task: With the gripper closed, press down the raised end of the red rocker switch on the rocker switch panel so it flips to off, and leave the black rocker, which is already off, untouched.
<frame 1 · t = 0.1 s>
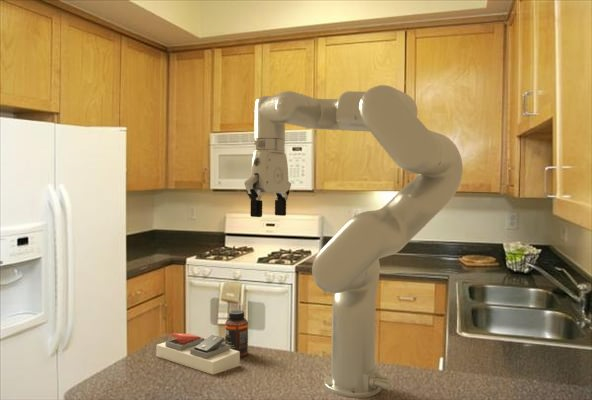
hand: (268, 216, 115), 37 cm above the countertop, tool pointing down, fingers open, 9 cm apart
rocker switch panel: (197, 364, 114), on the countertop
black rocker: (210, 346, 111), point 5 cm above the countertop, hinge at -15.0°
red rocker: (185, 339, 117), point 5 cm above the countertop, hinge at 15.0°
supplement bottle: (236, 355, 121), on the countertop
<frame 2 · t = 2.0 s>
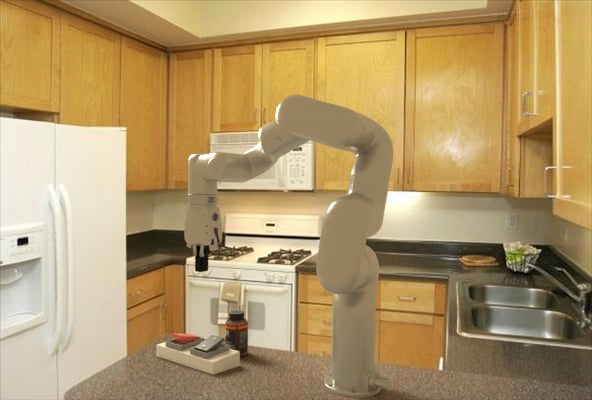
hand: (201, 271, 121), 22 cm above the countertop, tool pointing down, fingers closed
nothing on the countertop moved.
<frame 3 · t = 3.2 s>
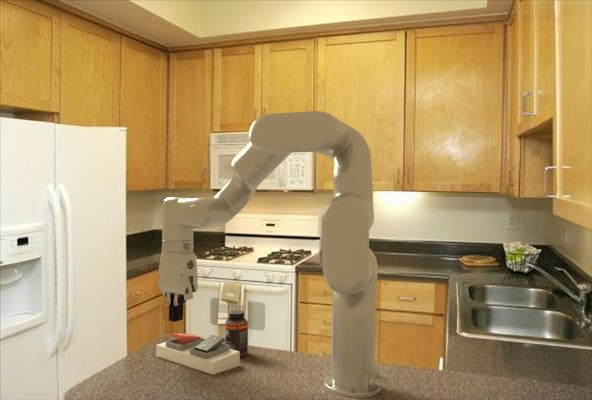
hand: (175, 320, 115), 11 cm above the countertop, tool pointing down, fingers closed
nothing on the countertop moved.
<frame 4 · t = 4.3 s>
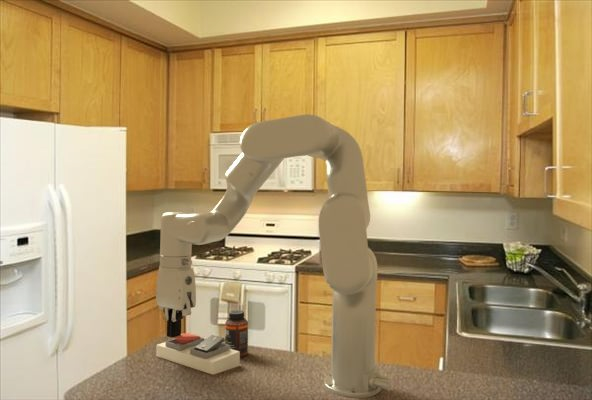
hand: (173, 335, 114), 7 cm above the countertop, tool pointing down, fingers closed
red rocker: (185, 339, 117), point 5 cm above the countertop, hinge at 13.3°, touching gripper
everything else where it was.
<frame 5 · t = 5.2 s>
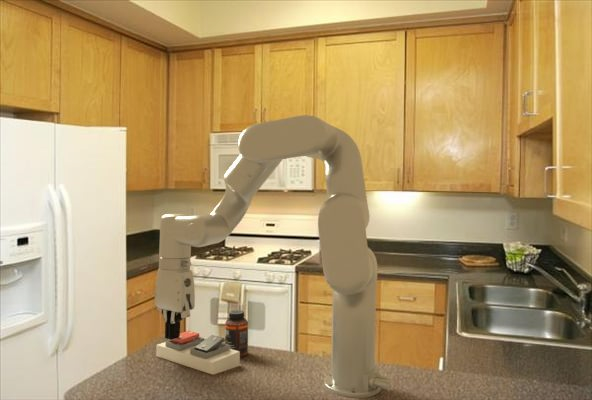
hand: (172, 337, 114), 7 cm above the countertop, tool pointing down, fingers closed
red rocker: (185, 339, 117), point 5 cm above the countertop, hinge at -1.0°, touching gripper
everything else where it was.
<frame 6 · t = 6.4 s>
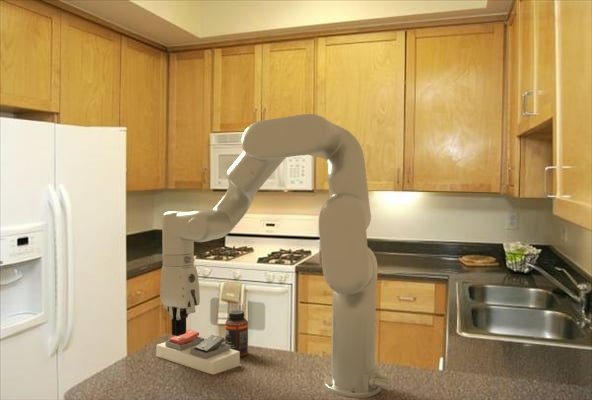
hand: (179, 334, 114), 7 cm above the countertop, tool pointing down, fingers closed
red rocker: (185, 339, 117), point 5 cm above the countertop, hinge at -8.4°
everything else where it was.
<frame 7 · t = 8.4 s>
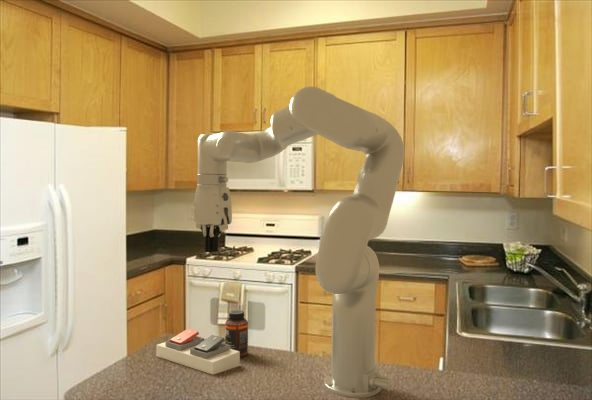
hand: (211, 251, 121), 27 cm above the countertop, tool pointing down, fingers closed
red rocker: (185, 339, 117), point 5 cm above the countertop, hinge at -13.9°
everything else where it was.
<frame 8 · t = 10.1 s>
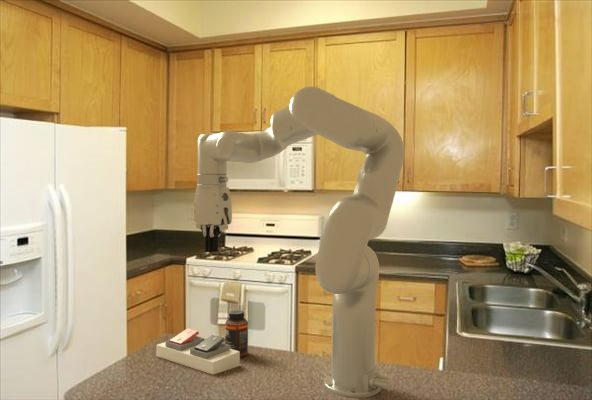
hand: (211, 251, 121), 27 cm above the countertop, tool pointing down, fingers closed
red rocker: (184, 339, 117), point 5 cm above the countertop, hinge at -16.5°
everything else where it was.
at the end: red rocker at -17° (first picture: +15°); black rocker at -15° (first picture: -15°); supplement bottle moved 0.2 cm from its start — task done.
